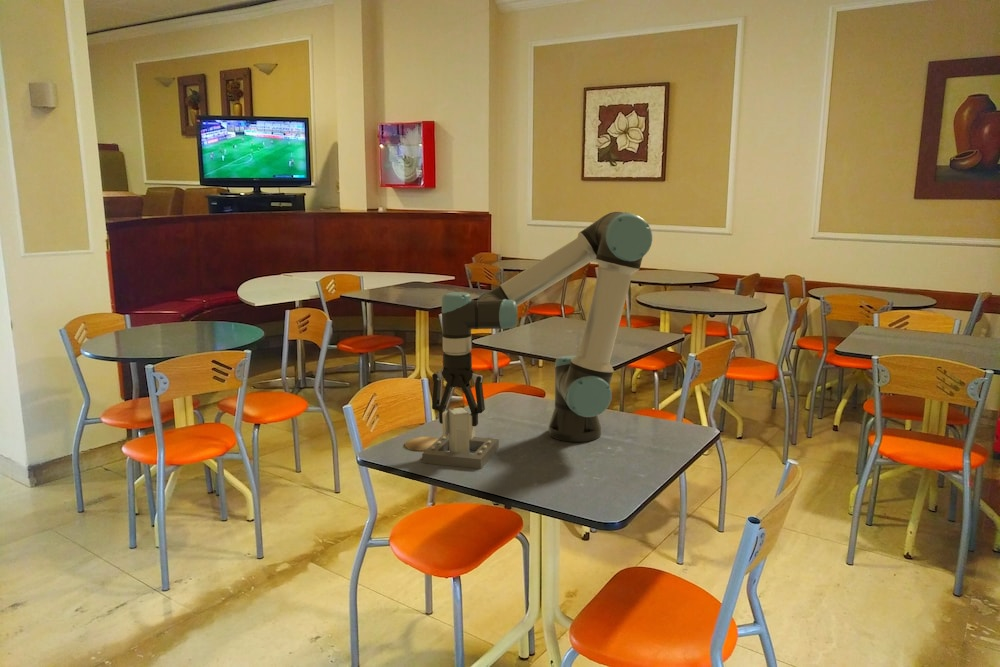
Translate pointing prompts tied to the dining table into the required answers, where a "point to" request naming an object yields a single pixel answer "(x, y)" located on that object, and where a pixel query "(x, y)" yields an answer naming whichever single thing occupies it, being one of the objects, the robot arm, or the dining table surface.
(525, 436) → the dining table surface
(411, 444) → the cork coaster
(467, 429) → the skincare box
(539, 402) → the dining table surface
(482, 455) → the studded square frame
